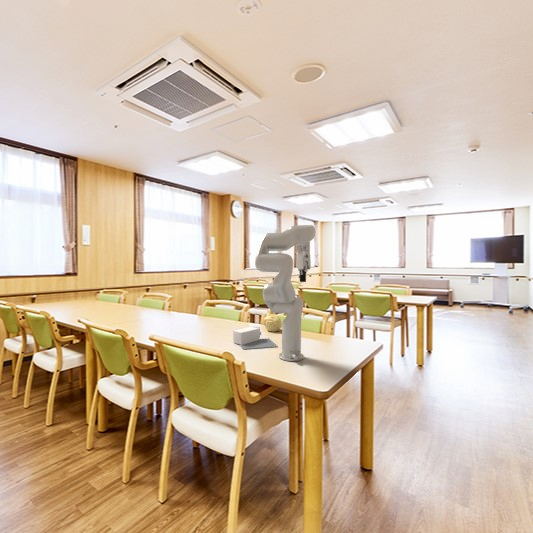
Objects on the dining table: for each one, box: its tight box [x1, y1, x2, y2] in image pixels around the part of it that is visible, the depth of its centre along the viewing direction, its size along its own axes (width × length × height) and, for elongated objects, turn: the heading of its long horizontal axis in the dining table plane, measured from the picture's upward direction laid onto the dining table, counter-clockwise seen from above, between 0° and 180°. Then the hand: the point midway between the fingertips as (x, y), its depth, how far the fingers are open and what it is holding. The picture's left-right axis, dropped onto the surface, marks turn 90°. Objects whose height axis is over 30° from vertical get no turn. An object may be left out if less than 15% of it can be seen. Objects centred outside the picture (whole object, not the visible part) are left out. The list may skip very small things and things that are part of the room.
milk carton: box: [232, 326, 262, 346], centre depth 184 cm, size 7×7×19 cm
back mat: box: [239, 337, 278, 350], centre depth 179 cm, size 18×20×1 cm
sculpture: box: [263, 315, 282, 333], centre depth 213 cm, size 12×12×11 cm
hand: (302, 281), depth 172 cm, fingers closed
